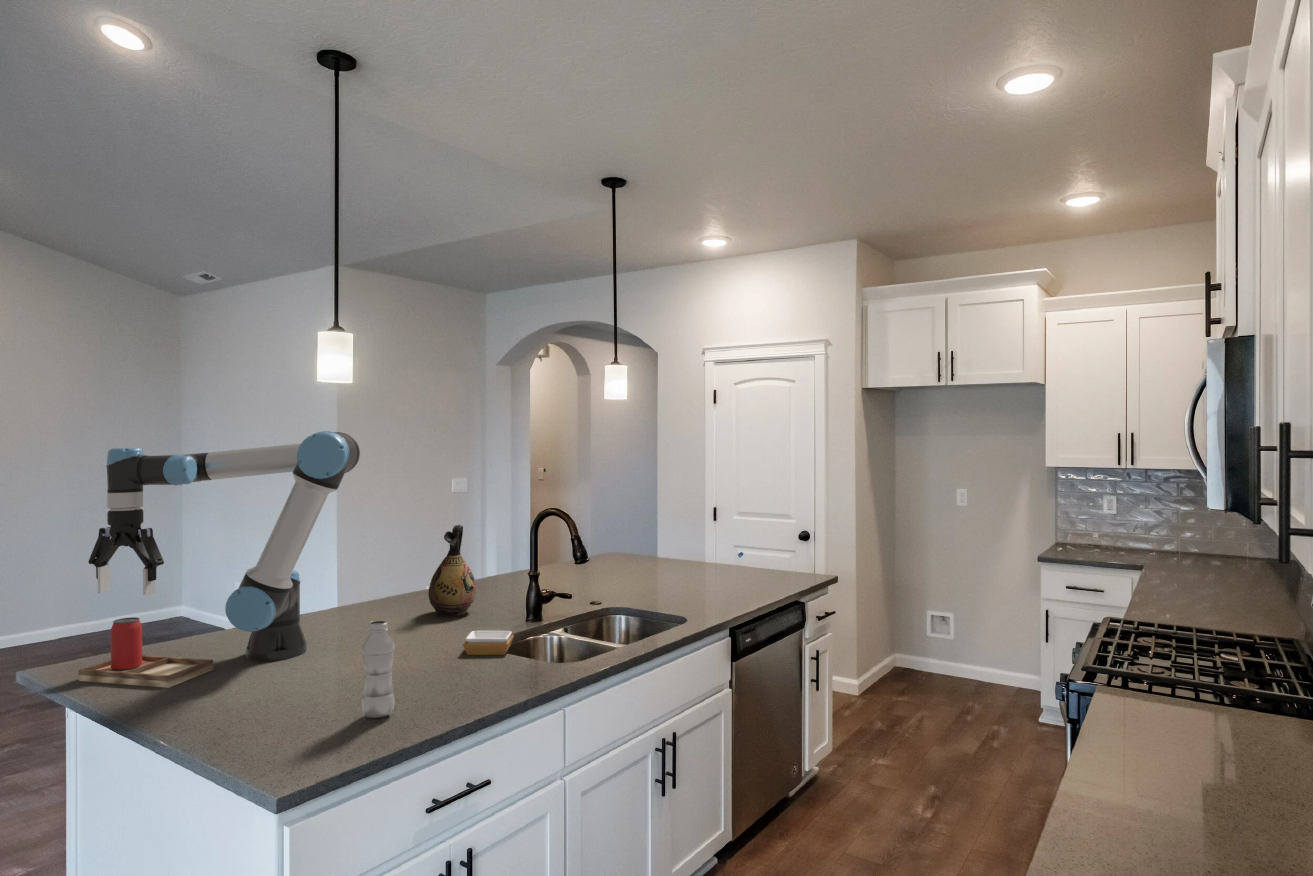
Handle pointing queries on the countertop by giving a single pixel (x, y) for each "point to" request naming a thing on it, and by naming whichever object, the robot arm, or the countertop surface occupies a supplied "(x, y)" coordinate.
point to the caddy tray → (149, 671)
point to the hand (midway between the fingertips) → (126, 593)
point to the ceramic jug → (452, 580)
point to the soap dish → (488, 642)
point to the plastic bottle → (378, 671)
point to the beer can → (126, 643)
